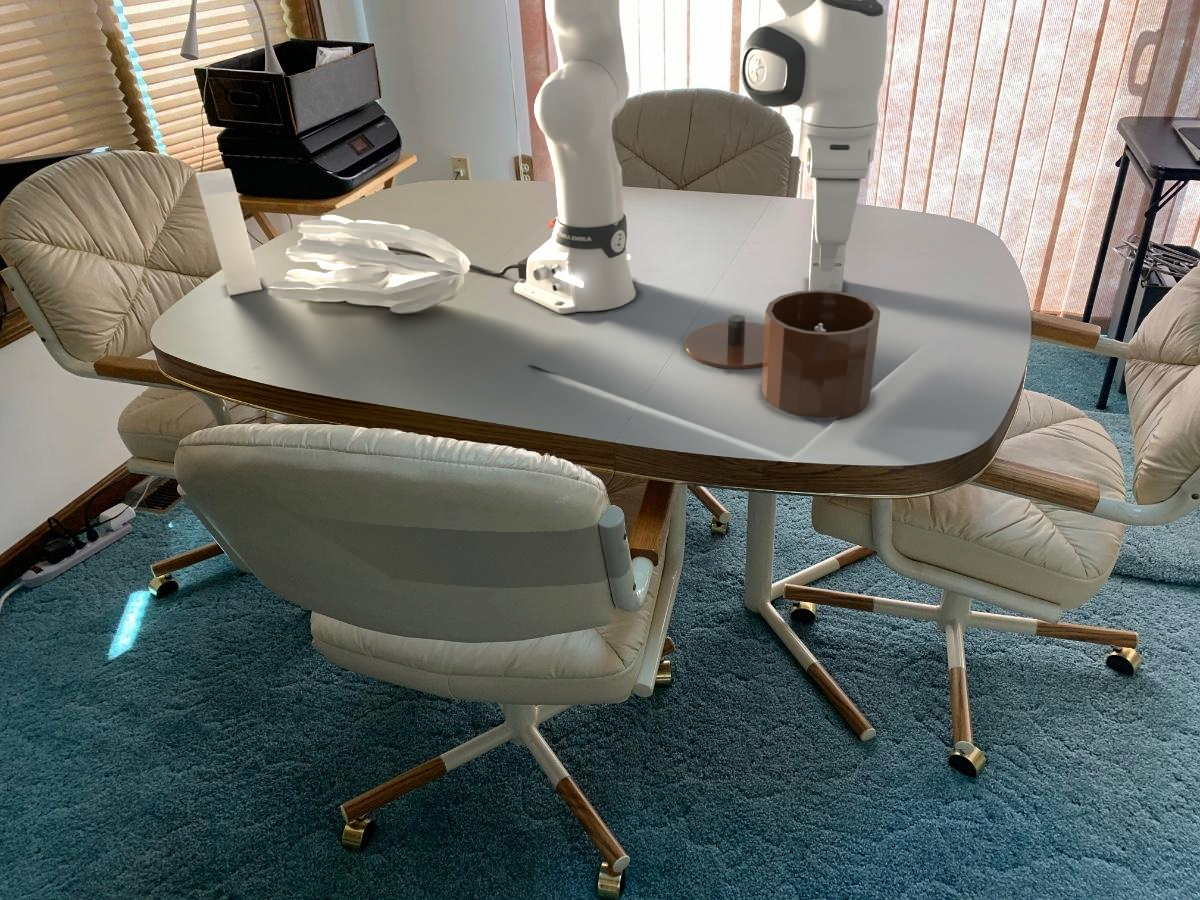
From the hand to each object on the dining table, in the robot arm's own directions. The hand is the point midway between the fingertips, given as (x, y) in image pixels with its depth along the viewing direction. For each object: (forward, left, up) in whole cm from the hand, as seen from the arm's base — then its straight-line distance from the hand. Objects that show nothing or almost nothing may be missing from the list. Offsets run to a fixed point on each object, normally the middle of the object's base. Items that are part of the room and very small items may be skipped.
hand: (825, 255), depth 117 cm
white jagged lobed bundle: (-79, -15, -21) cm, 83 cm away
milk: (-108, -24, -21) cm, 112 cm away
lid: (-17, +6, -20) cm, 27 cm away
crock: (0, 0, -20) cm, 20 cm away
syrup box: (-18, +36, -21) cm, 45 cm away
